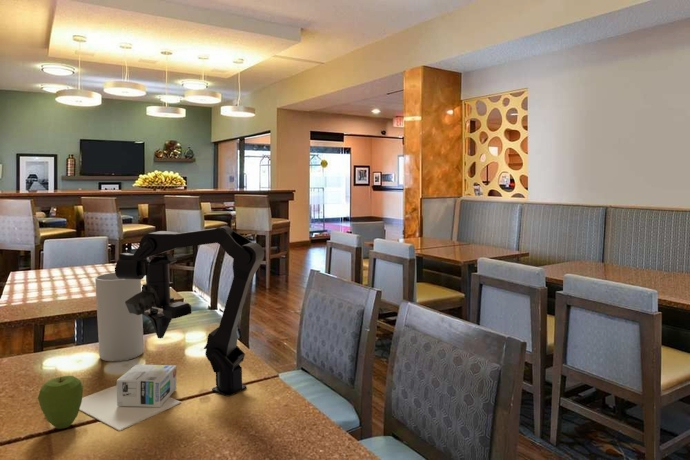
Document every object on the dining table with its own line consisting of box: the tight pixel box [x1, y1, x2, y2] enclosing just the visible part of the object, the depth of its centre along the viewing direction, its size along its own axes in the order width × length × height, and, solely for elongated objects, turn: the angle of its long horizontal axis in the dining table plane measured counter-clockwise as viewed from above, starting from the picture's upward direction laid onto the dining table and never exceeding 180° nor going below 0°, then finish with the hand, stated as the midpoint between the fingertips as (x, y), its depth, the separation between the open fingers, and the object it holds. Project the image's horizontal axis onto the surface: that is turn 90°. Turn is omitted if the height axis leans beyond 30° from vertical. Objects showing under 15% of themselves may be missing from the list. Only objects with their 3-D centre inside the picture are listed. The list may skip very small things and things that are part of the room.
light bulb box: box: [116, 363, 178, 407], centre depth 120 cm, size 11×7×11 cm
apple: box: [37, 375, 84, 430], centre depth 107 cm, size 9×8×12 cm
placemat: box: [79, 384, 182, 432], centre depth 118 cm, size 22×16×1 cm
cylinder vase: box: [94, 272, 145, 363], centre depth 149 cm, size 12×12×25 cm
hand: (160, 337), depth 128 cm, fingers closed
